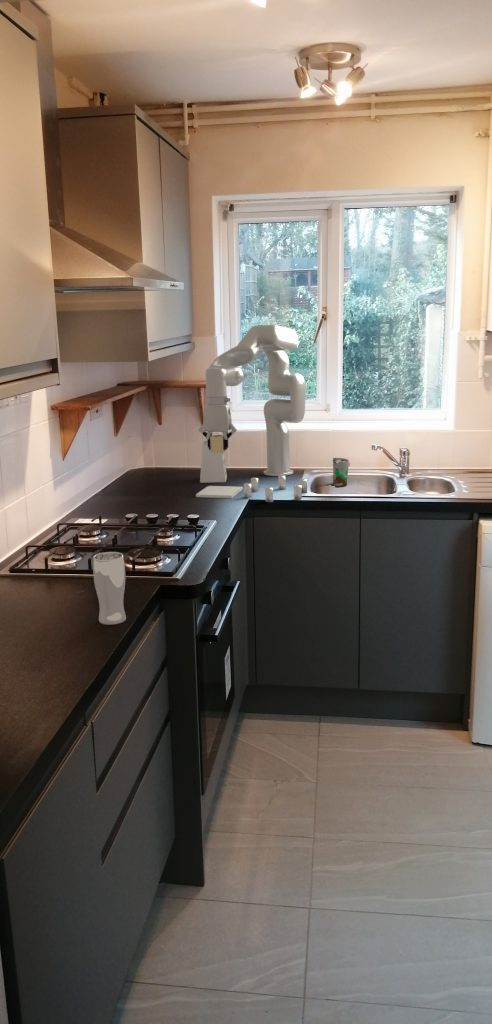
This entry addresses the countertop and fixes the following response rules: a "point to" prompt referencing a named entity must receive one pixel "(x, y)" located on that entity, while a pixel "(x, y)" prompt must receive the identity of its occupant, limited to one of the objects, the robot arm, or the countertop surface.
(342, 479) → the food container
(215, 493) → the mat
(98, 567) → the beer glass
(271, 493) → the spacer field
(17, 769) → the countertop surface
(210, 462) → the grater
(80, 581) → the countertop surface
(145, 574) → the countertop surface
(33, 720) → the countertop surface
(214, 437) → the faceted candle holder
